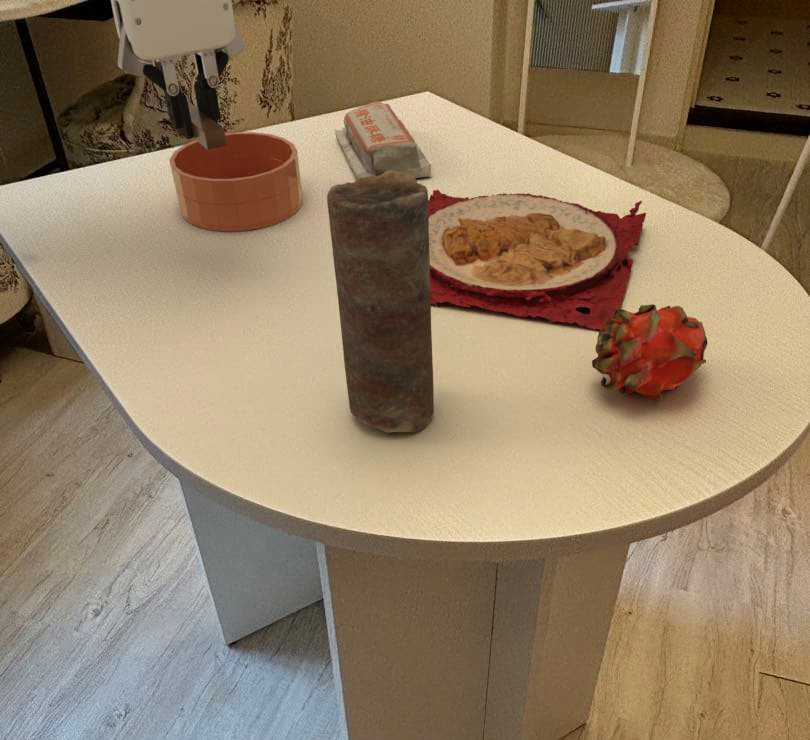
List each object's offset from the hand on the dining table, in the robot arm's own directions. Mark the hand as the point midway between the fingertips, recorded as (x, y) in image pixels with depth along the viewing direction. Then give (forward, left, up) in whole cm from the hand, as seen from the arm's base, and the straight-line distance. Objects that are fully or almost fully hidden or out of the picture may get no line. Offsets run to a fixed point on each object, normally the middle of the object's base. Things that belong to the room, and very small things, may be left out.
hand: (197, 130), depth 79 cm
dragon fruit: (+48, +6, -14) cm, 51 cm away
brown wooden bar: (0, 0, 0) cm, 0 cm away
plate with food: (+26, +19, -14) cm, 36 cm away
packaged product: (-4, +34, -14) cm, 37 cm away
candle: (+33, -11, -14) cm, 37 cm away
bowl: (-9, +12, -14) cm, 21 cm away
